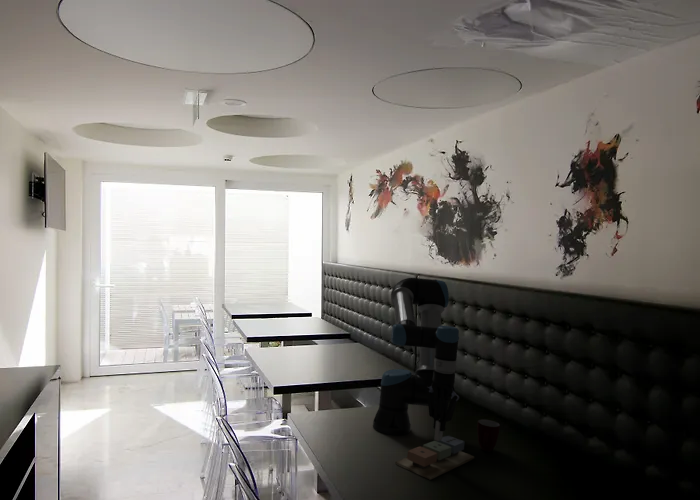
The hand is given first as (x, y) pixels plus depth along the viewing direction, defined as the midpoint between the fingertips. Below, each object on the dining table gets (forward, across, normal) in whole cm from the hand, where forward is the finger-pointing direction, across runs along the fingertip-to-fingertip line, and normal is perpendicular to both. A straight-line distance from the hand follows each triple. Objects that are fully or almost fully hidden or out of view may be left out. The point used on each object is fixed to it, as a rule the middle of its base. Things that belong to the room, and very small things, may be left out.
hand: (438, 439), depth 173 cm
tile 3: (+5, 0, +9) cm, 11 cm away
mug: (+8, +6, +25) cm, 27 cm away
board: (+8, 0, 0) cm, 8 cm away
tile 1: (+5, 0, -9) cm, 10 cm away
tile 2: (+5, 0, 0) cm, 5 cm away
